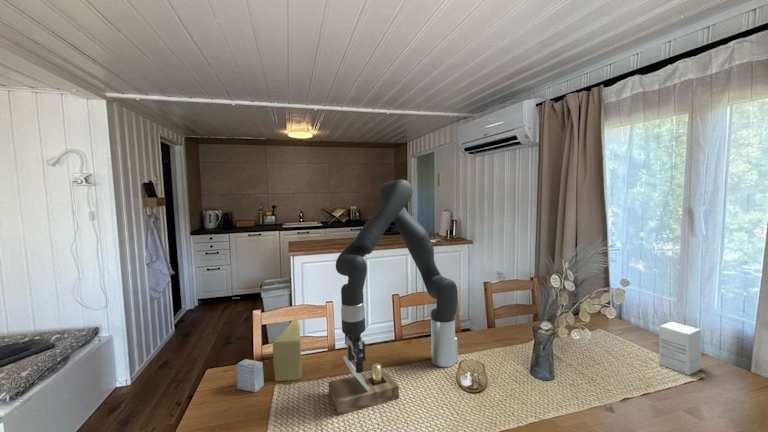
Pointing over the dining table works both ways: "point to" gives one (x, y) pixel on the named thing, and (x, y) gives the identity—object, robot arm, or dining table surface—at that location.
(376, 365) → the brass peg
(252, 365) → the medicine box
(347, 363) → the steel flap
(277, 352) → the cheese
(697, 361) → the supplement box
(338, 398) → the walnut block
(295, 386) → the dining table surface
